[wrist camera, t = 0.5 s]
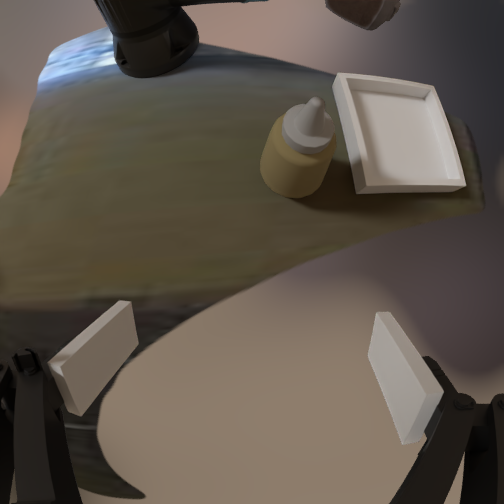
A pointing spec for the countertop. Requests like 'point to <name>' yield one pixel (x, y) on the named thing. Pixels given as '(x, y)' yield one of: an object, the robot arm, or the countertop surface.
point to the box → (396, 136)
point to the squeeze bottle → (299, 150)
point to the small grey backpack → (364, 11)
